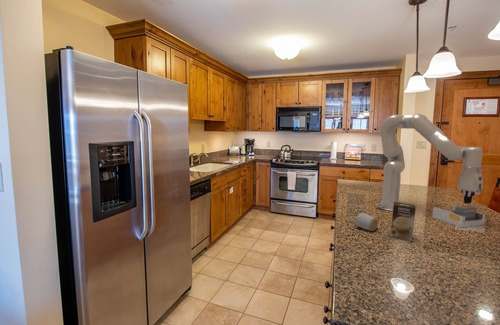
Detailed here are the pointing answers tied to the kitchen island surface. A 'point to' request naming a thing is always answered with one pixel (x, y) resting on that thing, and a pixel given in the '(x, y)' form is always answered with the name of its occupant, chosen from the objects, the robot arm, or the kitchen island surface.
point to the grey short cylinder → (366, 222)
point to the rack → (457, 217)
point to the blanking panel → (466, 211)
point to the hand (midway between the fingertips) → (467, 203)
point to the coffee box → (402, 221)
